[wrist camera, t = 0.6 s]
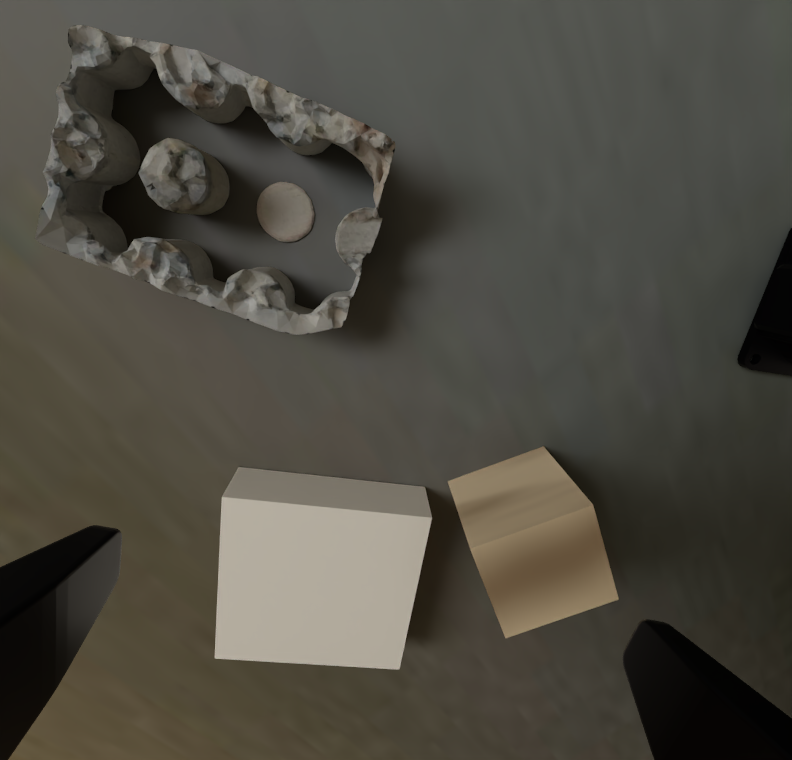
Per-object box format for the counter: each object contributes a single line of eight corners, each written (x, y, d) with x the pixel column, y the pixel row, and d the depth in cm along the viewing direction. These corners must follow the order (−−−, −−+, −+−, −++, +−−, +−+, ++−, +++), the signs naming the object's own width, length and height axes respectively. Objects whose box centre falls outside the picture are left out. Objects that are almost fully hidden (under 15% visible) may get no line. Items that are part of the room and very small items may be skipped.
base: (424, 486, 21) (432, 517, 19) (396, 627, 24) (399, 669, 22) (238, 466, 20) (221, 496, 18) (230, 615, 23) (214, 658, 21)
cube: (566, 524, 23) (618, 599, 18) (477, 556, 23) (505, 638, 18) (542, 445, 21) (593, 505, 17) (447, 480, 22) (470, 548, 17)
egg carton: (403, 159, 17) (414, 137, 13) (340, 334, 19) (334, 358, 15) (123, 33, 15) (41, -37, 11) (85, 241, 17) (5, 243, 13)
